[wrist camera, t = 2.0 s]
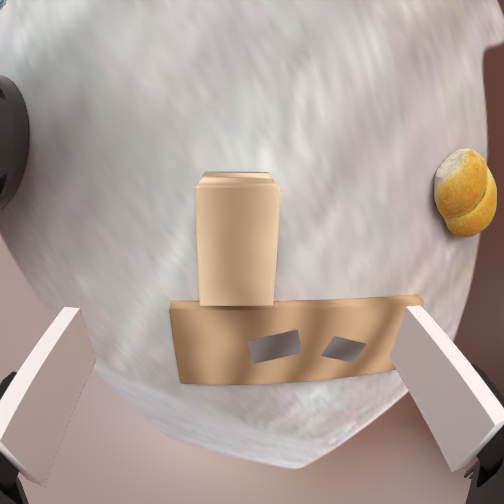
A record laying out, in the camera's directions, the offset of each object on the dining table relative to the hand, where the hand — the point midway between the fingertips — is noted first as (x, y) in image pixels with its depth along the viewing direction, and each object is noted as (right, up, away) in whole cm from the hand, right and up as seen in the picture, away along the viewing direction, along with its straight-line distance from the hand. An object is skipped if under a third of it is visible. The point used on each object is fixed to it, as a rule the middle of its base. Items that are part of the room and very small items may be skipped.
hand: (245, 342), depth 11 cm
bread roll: (+22, +10, +15) cm, 28 cm away
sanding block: (-1, +6, +14) cm, 16 cm away
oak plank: (+5, -6, +20) cm, 21 cm away
